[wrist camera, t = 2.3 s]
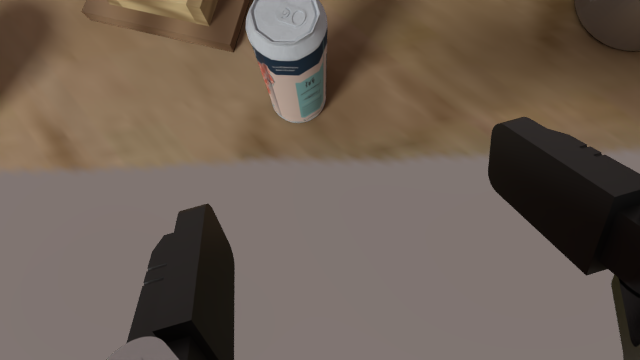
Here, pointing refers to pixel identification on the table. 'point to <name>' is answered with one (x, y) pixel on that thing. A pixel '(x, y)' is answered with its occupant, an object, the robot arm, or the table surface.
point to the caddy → (175, 18)
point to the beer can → (291, 54)
